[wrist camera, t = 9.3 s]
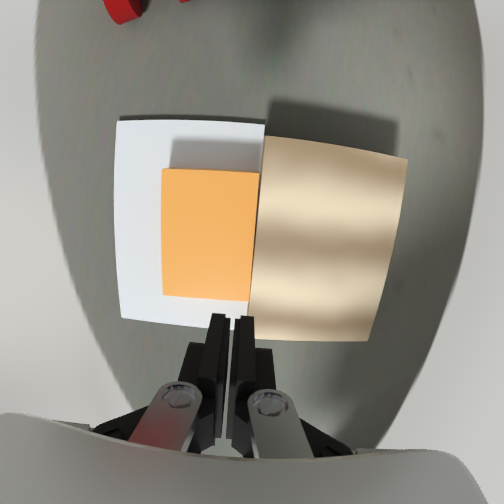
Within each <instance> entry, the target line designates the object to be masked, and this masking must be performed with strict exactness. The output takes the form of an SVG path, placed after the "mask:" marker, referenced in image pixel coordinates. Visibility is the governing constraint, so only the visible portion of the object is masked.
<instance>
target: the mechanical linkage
mask: <svg viewBox="0 0 504 504" xmlns="http://www.w3.org/2000/svg"><path fill="white" fill-rule="evenodd" d="M103 1H104V4H105V6H106V9H107V11H108V13H109V15H110V16H111V18H112V19H113V20H114V21H115V22H116V23H117V24H119V25H121V24H123V23H125V22H128V21H130V20H133V19H135V18H138V17H141V16H142V7H141V1H140V0H103ZM187 1H190V0H180V2H181V3H183V2H187Z"/></svg>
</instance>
